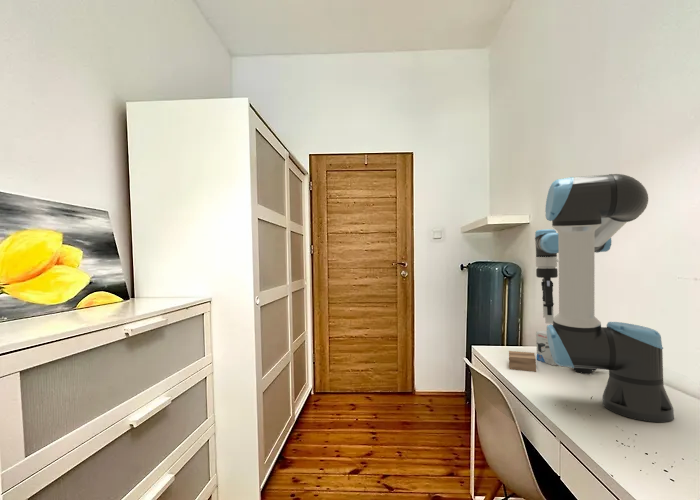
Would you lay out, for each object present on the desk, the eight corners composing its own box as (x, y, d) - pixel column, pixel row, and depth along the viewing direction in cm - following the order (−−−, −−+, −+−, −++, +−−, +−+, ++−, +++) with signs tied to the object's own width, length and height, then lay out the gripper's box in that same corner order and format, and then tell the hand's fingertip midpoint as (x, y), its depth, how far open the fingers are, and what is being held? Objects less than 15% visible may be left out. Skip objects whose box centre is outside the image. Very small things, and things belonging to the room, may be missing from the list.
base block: (536, 372, 130) (535, 358, 130) (509, 369, 133) (509, 356, 133) (534, 365, 138) (533, 352, 138) (509, 363, 141) (508, 350, 142)
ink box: (536, 360, 144) (535, 331, 145) (545, 358, 146) (544, 330, 146) (553, 365, 136) (552, 335, 137) (563, 364, 138) (562, 334, 138)
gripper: (560, 269, 129) (562, 326, 129) (554, 266, 152) (556, 315, 151) (537, 269, 133) (539, 325, 132) (534, 266, 155) (536, 314, 155)
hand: (548, 320), depth 142 cm, fingers open, 13 cm apart
